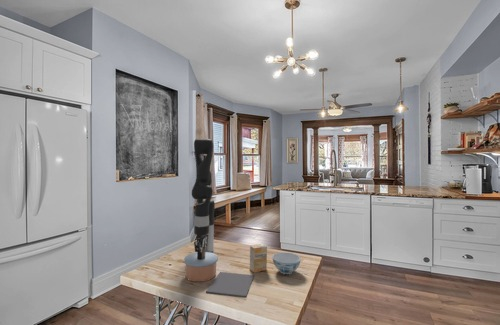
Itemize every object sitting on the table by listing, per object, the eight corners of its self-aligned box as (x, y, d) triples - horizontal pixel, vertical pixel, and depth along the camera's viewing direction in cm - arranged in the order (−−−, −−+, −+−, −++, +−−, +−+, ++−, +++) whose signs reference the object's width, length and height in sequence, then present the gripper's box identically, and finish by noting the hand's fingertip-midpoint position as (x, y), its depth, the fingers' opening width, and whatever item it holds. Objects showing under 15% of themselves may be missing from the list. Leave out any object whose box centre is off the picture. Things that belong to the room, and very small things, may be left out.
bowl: (193, 267, 133) (193, 254, 133) (219, 269, 130) (219, 256, 130) (180, 279, 118) (180, 265, 118) (209, 283, 115) (209, 268, 116)
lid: (192, 252, 134) (192, 242, 134) (222, 255, 131) (222, 245, 131) (178, 265, 118) (178, 253, 118) (211, 268, 115) (211, 256, 115)
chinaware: (305, 271, 129) (306, 257, 129) (290, 281, 118) (290, 265, 118) (282, 263, 140) (283, 250, 140) (266, 271, 129) (266, 257, 129)
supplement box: (253, 273, 127) (254, 248, 127) (249, 269, 131) (249, 245, 131) (267, 270, 131) (267, 246, 131) (262, 266, 135) (262, 243, 135)
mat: (220, 272, 126) (220, 271, 126) (253, 276, 123) (253, 275, 123) (206, 292, 107) (206, 291, 107) (245, 297, 103) (246, 295, 103)
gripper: (200, 220, 132) (199, 252, 132) (189, 227, 118) (188, 262, 118) (213, 221, 131) (212, 253, 131) (203, 228, 117) (202, 263, 117)
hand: (201, 257), depth 124 cm, fingers closed on lid, 4 cm apart
